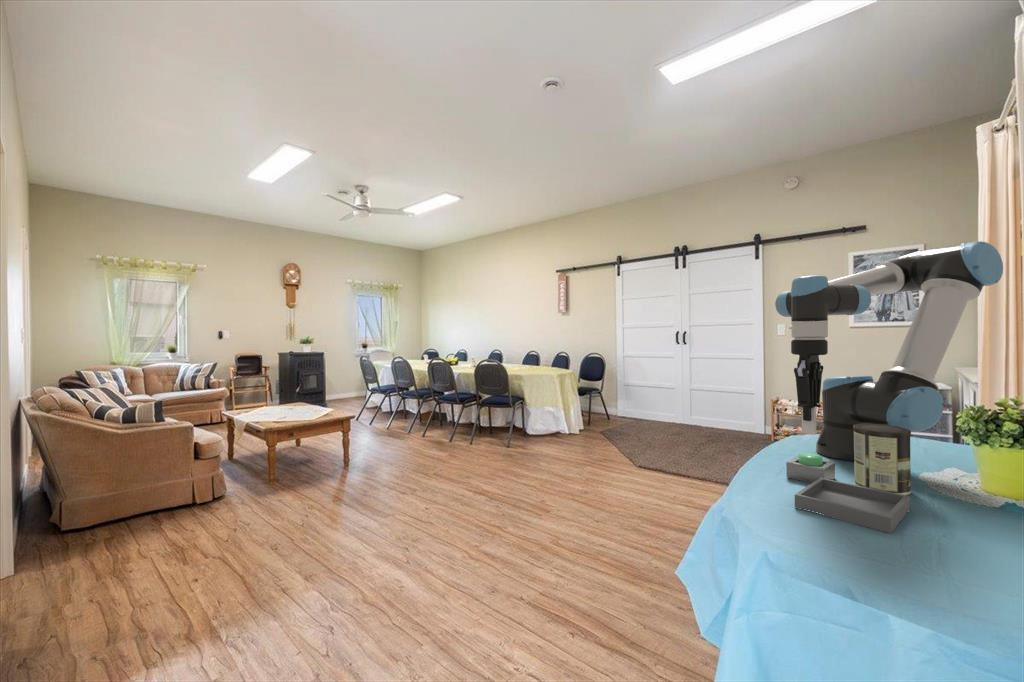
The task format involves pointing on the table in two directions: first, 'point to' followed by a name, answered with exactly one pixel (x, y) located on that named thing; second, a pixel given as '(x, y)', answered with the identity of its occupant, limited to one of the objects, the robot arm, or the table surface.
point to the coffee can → (882, 457)
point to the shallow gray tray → (854, 504)
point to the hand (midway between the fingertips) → (808, 433)
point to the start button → (811, 459)
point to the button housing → (809, 470)
